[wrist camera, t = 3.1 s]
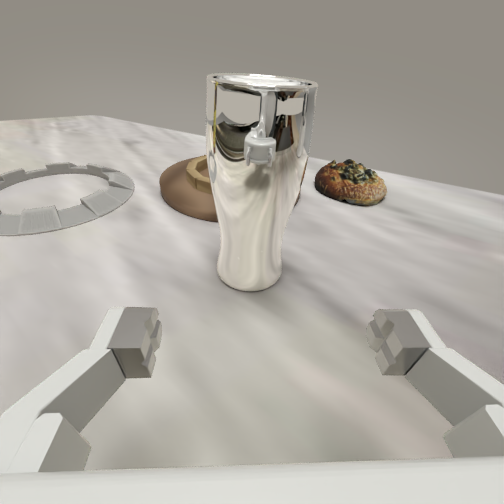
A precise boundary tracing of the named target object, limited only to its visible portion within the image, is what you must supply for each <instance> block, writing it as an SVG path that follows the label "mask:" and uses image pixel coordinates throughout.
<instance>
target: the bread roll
mask: <svg viewBox="0 0 504 504" xmlns="http://www.w3.org/2000/svg"><path fill="white" fill-rule="evenodd" d="M315 188H316V190H318V191H319V192H320V193H322V194H323V193H324V194H325V195H326V196H328V197H330V198H333V199H336V200H339V201H342V200H343V199H345V200H347V202H349V203H351V204H357V205H366V206H367V205H377V204H378V203H379V201H380V200H381V199H382V198H383V197H384V196H386V194H387V189H386V186H385V184H384V180H383V179H381V178H380V177H379V176H378V175H377V174H376V172H375V171H372V170H371V169H366V168H365V167H364V166H363V164H361V163H359V164H357V163H355V161H353V160H351V159H348V160H346V161H344V162H343V163H338V164H336V162H335V160H334V161H332V162H331V163H328V165H325V166H324V167H322V168H321V169H320V170H319V172H318V173H317V174H316V177H315Z"/></svg>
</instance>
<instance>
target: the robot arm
mask: <svg viewBox="0 0 504 504" xmlns="http://www.w3.org/2000/svg"><path fill="white" fill-rule="evenodd" d="M158 315H159V313H158V310H157V308H142V307H111V308H110V309H109V310H108V311H107V313H106V315H105V317H104V319H103V321H102V323H101V325H100V327H99V329H98V331H97V333H96V335H95V337H94V339H93V341H92V343H91V345H90V347H89V349H84V350H82V351H81V352H80V353H78V354H77V355H76V356H75V357H73V358H72V359H71V360H69V361H68V362H67V363H66V364H64V365H63V366H62V367H61V368H59V369H58V370H57V371H55V372H54V373H53V374H52V375H50V376H49V377H48V378H47V379H45V380H44V381H43V382H41V383H40V384H39V385H38V386H36V387H35V388H34V389H33V390H31V391H30V392H29V393H27V394H26V395H25V396H24V397H22V398H21V399H20V400H18V401H17V402H16V403H15V404H13V405H12V406H11V407H10V408H8V409H7V410H6V411H4V412H3V414H2V415H1V417H0V504H504V385H503V384H502V383H500V382H499V381H497V380H496V379H495V378H493V377H492V376H490V375H489V374H487V373H486V372H484V371H483V370H482V369H480V368H479V367H477V366H476V365H474V364H473V363H471V362H470V361H469V360H467V359H466V358H464V357H463V356H461V355H460V354H459V353H457V352H456V351H454V350H453V349H451V348H447V347H446V346H445V345H444V343H443V342H442V340H441V339H440V337H439V336H438V335H437V333H436V332H435V330H434V329H433V328H432V326H431V325H430V323H429V322H428V320H427V319H426V318H425V316H424V315H423V313H422V312H421V311H419V310H403V309H378V310H377V311H375V313H374V315H373V317H374V320H373V321H371V322H370V323H369V324H368V326H367V328H366V338H367V342H368V344H369V346H370V348H371V349H373V350H374V351H375V352H376V355H375V360H376V362H377V364H378V367H379V369H380V371H381V373H382V375H399V376H405V378H406V379H407V380H408V381H409V382H410V383H411V384H412V385H413V386H414V387H415V388H416V389H417V390H418V391H419V392H420V393H421V394H422V395H423V396H424V397H425V398H426V399H427V400H428V401H429V402H430V403H431V404H432V405H433V406H434V407H435V408H436V409H437V410H438V411H439V412H440V413H441V414H442V415H443V416H444V417H445V418H446V419H447V420H448V421H449V422H450V423H451V424H452V425H453V426H454V427H453V428H451V429H450V430H449V431H447V432H446V433H445V434H444V436H443V438H444V440H445V442H446V444H447V446H448V448H449V450H450V451H451V453H452V455H453V457H454V458H429V459H400V460H372V461H343V462H315V463H286V464H257V465H229V466H200V467H172V468H143V469H115V470H86V471H83V470H84V467H85V465H86V462H87V459H88V456H89V453H90V450H91V446H90V443H89V442H88V441H87V440H86V439H85V438H84V437H83V436H82V435H81V434H80V432H81V431H82V430H83V428H84V427H85V426H86V425H87V424H88V423H89V422H90V420H91V419H92V418H93V417H94V416H95V415H96V414H97V412H98V411H99V410H100V409H101V408H102V407H103V406H104V404H105V403H106V402H107V401H108V400H109V399H110V398H111V396H112V395H113V394H114V393H115V392H116V391H117V390H118V388H119V387H120V386H121V385H122V384H123V383H124V382H125V380H126V378H151V376H152V372H153V369H154V365H155V361H156V357H155V354H154V352H155V351H156V350H157V349H158V348H159V346H160V342H161V336H162V326H161V322H160V321H159V320H157V318H158Z"/></svg>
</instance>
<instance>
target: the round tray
mask: <svg viewBox="0 0 504 504" xmlns="http://www.w3.org/2000/svg"><path fill="white" fill-rule="evenodd" d="M160 188H161V193H162V197H163V199H164V200H165V202H166V203H167V204H168V205H169V206H171V207H172V208H174V209H175V210H177V211H179V212H181V213H183V214H186V215H188V216H191V217H194V218H198V219H202V220H207V221H214V222H218V218H217V214H216V210H215V205H214V201H213V196H212V192H211V186H210V180H209V175H208V167H207V155H204V156H200V157H196V158H191V159H187V160H184V161H181V162H178V163H176V164H174V165H172V166H170V167H169V168H167V169H166V170H165V171H164V172H163V173H162V175H161V177H160ZM300 189H301V188H300ZM299 195H300V191H299V194H298V197H297V199H296V202H295V205H296V203H297V202H298V199H299ZM295 205H294V206H295Z"/></svg>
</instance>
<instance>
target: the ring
mask: <svg viewBox="0 0 504 504" xmlns="http://www.w3.org/2000/svg"><path fill="white" fill-rule="evenodd" d="M45 165H46V169H40V170H34V171H29V172H25V171H24V169H22V168H21V169H17V170H13V171H10V172H7V173H4V174H1V175H0V190H2V189H4V188H6V187H9V186H11V185H14V184H16V183H19V182H22V181H26V180H29V179H33V178H38V177H43V176H49V175H57V174H90V175H95V176H99V177H102V178H104V179H106V180H108V182H109V188H108V189H107V190H106V191H103V190H98V191H97V192H95V193H93V194H91V195H88V196H86V197H83V198H81V199H80V200H81V203H82V204H80V205H77V206H74V207H71V208H67V209H63V210H59V211H57V209H56V207H55V206H49V207H42V208H33V209H24V210H23V211H22V213H21V215H12V214H2V213H1V211H0V236H21V235H32V234H40V233H46V232H52V231H57V230H61V229H66V228H70V227H73V226H77V225H80V224H83V223H86V222H89V221H92V220H95V219H97V218H99V217H102V216H104V215H106V214H108V213H110V212H112V211H114V210H115V209H117V208H118V207H120V206H121V205H123V204H124V203H125V202H126V201H127V200H128V199H129V198H130V197H131V195H132V194H133V192H134V183H133V181H132V179H131V178H130V177H129V176H127V175H126V174H124V173H122V172H120V171H117V170H114V169H110V168H106V167H103V166H99V165H95V164H89V163H88V164H86V166H76V165H74V164H72V163H69V162H64V163H50V164H45Z"/></svg>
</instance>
